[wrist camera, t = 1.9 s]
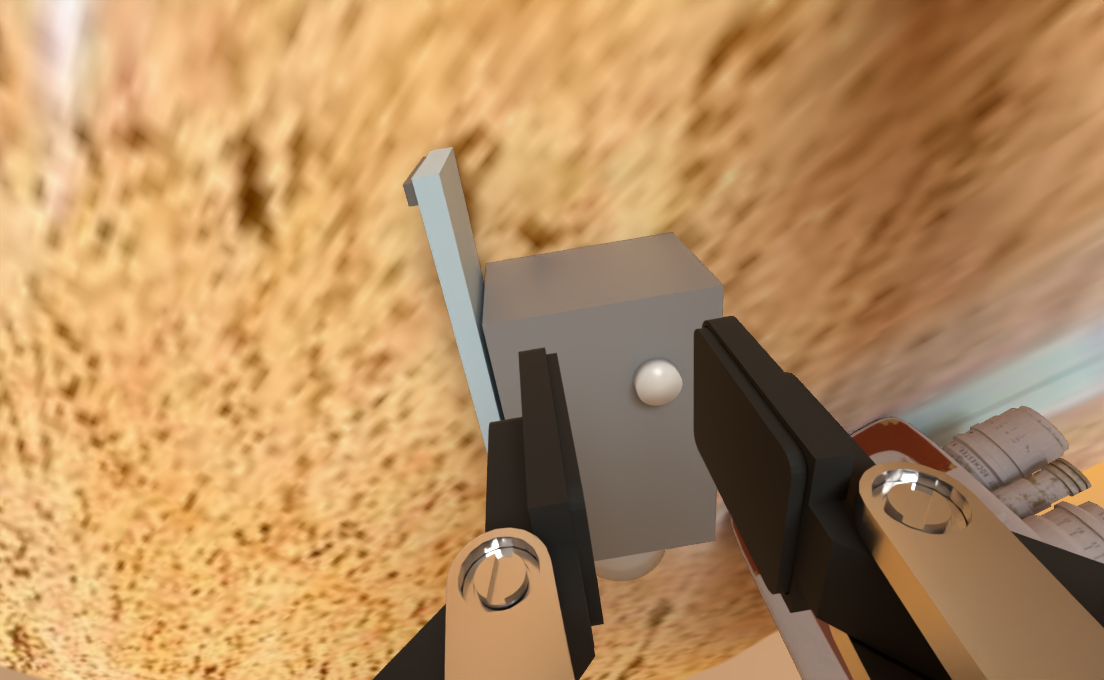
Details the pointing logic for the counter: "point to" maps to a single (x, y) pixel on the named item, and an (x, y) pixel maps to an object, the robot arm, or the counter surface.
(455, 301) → the side door
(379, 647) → the counter surface
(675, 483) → the block
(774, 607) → the cine camera
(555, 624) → the robot arm
